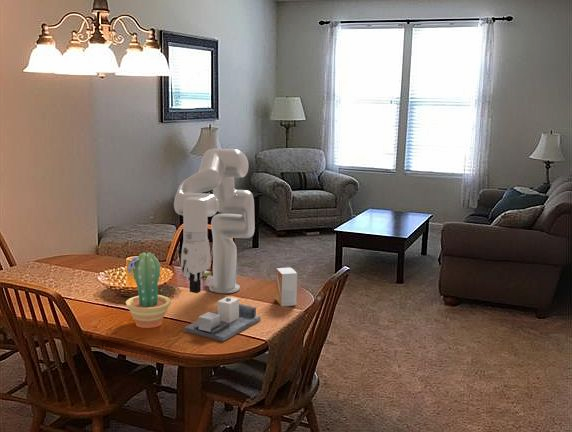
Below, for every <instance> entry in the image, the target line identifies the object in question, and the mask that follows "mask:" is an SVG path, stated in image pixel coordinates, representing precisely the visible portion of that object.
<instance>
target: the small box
mask: <svg viewBox="0 0 572 432" xmlns="http://www.w3.org/2000/svg"><path fill="white" fill-rule="evenodd" d="M275 269H276V271H275V273H276V274H275V276H276V277H275V301H277V303H278V304H279V305H280V307H290V306H292V307H293V306H297V298H298V297H297V294H298V292H297V291H298V272H296V270H295V269H293V268H292V267H279V268H278V267H276V268H275Z"/></svg>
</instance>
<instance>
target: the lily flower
mask: <svg viewBox="0 0 572 432" xmlns="http://www.w3.org/2000/svg"><path fill="white" fill-rule="evenodd" d="M207 276H212V277H213V269H212V268H209V269H208V272H204V273H203V274H202V279H203V280H206V279H207Z"/></svg>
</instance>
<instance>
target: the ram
mask: <svg viewBox="0 0 572 432" xmlns="http://www.w3.org/2000/svg"><path fill="white" fill-rule="evenodd" d="M198 320H199V327H198V329H200V330H204V331H207V332H211V331H213V330H215V329H217V328H218V327H220V320H221V316H220V315H219V314H215V313H214V312H210V311H207V312H205V313H204V314H202V315H199V316H198Z"/></svg>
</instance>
